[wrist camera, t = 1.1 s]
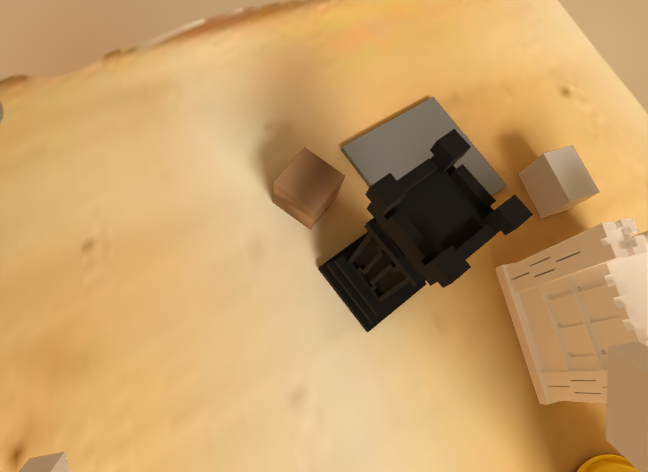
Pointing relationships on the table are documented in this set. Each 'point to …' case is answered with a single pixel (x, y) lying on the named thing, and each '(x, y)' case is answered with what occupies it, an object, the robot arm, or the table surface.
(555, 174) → the grey plastic box
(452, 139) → the chess piece
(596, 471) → the stacking cups
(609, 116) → the table surface
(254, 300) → the table surface
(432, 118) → the felt mat
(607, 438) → the robot arm
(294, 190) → the walnut cube
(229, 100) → the table surface
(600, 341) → the castle model
